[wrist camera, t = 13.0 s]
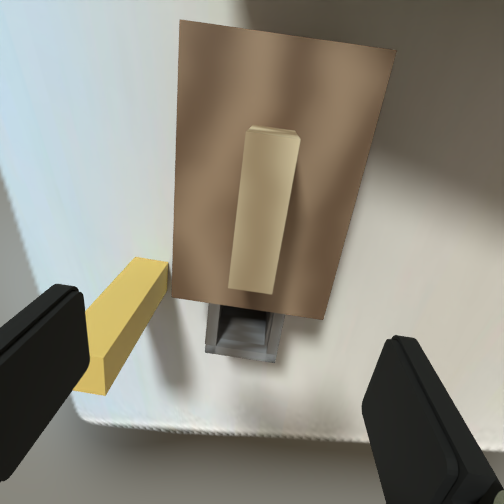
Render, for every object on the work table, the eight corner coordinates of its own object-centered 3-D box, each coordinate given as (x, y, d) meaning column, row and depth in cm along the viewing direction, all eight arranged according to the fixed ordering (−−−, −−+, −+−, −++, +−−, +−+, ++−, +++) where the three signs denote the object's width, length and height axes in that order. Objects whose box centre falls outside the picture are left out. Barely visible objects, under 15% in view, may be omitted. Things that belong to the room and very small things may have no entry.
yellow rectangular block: (168, 262, 39) (103, 357, 24) (166, 290, 40) (105, 395, 26) (135, 256, 39) (50, 349, 24) (135, 285, 40) (56, 387, 26)
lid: (386, 54, 23) (439, 31, 15) (308, 352, 34) (316, 422, 27) (188, 26, 23) (145, -11, 15) (176, 333, 34) (148, 396, 27)
